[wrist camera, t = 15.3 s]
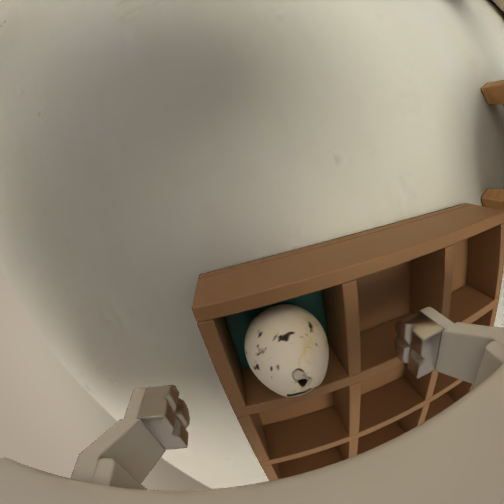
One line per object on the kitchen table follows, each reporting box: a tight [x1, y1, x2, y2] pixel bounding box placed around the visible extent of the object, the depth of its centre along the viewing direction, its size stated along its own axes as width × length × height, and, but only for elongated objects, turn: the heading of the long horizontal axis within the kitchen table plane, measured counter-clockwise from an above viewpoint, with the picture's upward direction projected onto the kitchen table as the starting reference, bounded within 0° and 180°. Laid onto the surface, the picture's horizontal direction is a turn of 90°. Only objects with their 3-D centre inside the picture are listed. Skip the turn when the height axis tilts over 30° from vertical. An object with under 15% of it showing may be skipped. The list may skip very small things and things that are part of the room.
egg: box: [244, 304, 329, 397], centre depth 10 cm, size 3×3×5 cm
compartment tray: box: [192, 203, 504, 481], centre depth 13 cm, size 16×16×3 cm
